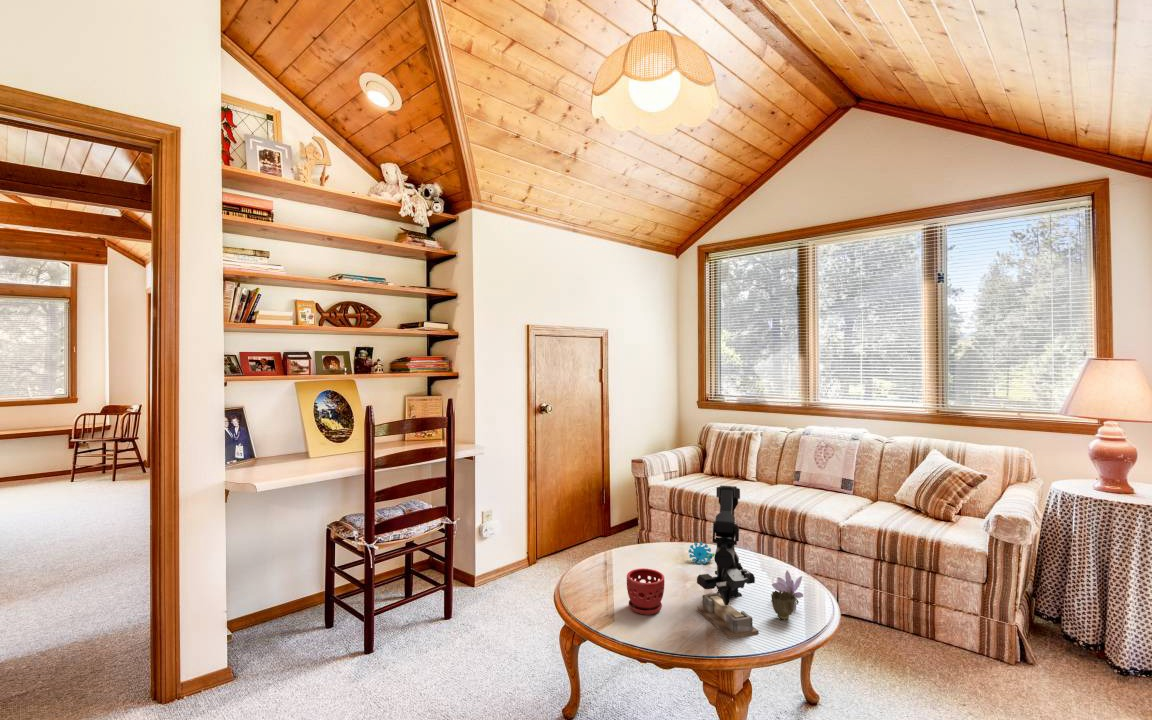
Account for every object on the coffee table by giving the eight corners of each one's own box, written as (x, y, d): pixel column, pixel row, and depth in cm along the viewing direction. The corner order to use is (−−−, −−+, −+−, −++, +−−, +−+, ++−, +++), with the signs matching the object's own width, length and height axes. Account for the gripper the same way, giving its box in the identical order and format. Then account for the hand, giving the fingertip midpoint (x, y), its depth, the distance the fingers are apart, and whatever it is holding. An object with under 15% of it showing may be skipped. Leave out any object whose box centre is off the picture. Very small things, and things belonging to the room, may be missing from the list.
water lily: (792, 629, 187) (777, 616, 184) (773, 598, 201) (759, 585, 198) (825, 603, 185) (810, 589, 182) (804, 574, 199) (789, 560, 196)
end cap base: (697, 609, 188) (697, 595, 188) (722, 605, 190) (722, 591, 190) (730, 638, 167) (730, 622, 167) (758, 633, 170) (758, 617, 170)
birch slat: (710, 608, 186) (709, 596, 186) (717, 607, 187) (717, 595, 187) (735, 629, 171) (735, 617, 171) (744, 628, 172) (744, 615, 172)
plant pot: (619, 610, 187) (619, 576, 188) (640, 598, 197) (640, 565, 198) (651, 621, 179) (651, 585, 179) (671, 608, 189) (671, 573, 189)
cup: (776, 611, 185) (775, 588, 186) (798, 617, 181) (797, 593, 181) (768, 619, 180) (767, 595, 180) (790, 626, 175) (790, 601, 175)
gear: (687, 560, 231) (690, 539, 238) (686, 566, 236) (689, 545, 242) (713, 565, 229) (715, 544, 236) (712, 572, 233) (714, 550, 240)
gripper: (713, 569, 169) (713, 619, 169) (764, 562, 174) (765, 611, 174) (695, 557, 180) (696, 604, 179) (744, 551, 185) (745, 597, 185)
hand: (726, 604), depth 179 cm, fingers closed
